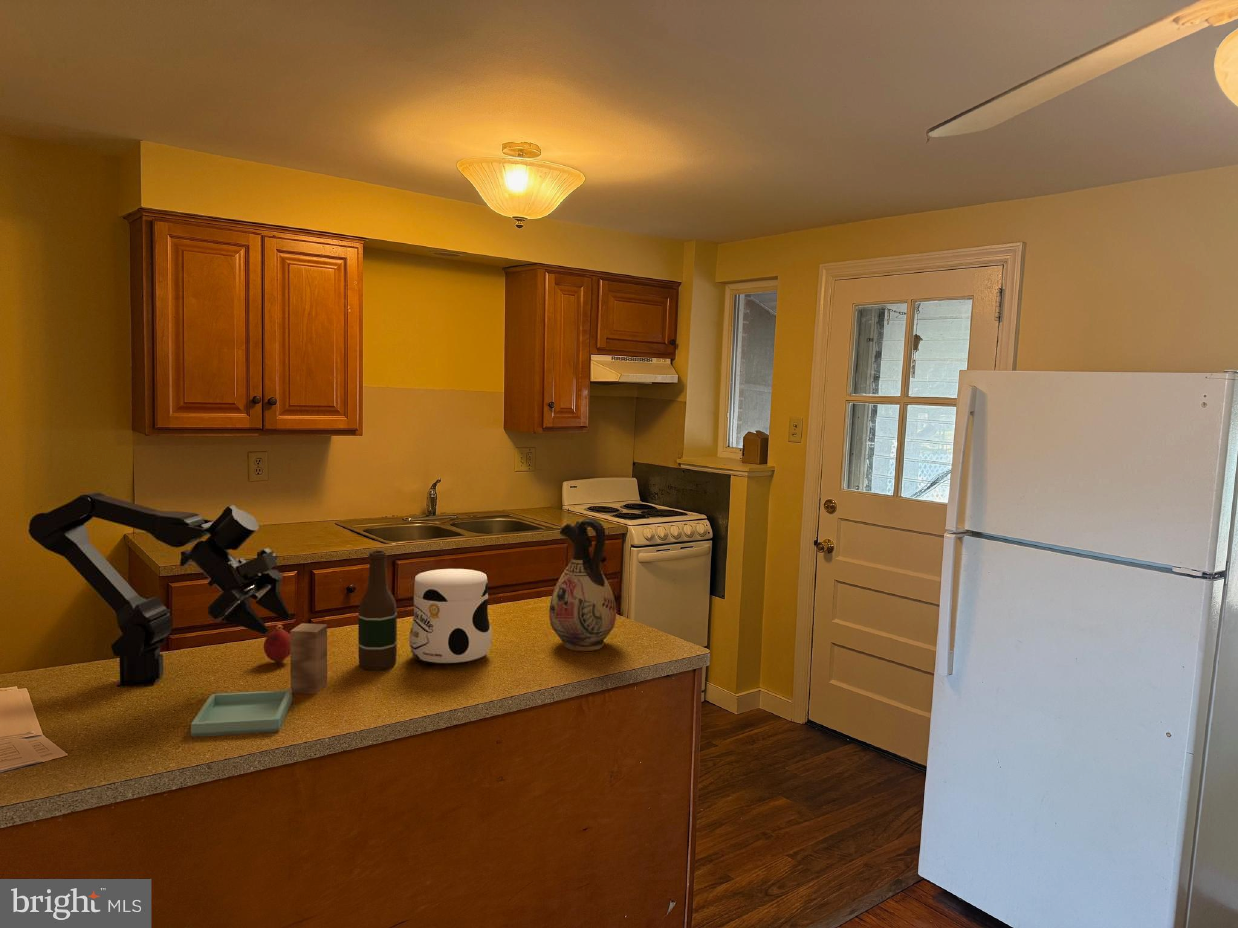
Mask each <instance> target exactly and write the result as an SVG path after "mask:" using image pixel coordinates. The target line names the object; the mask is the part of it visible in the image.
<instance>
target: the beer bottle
mask: <svg viewBox="0 0 1238 928" xmlns="http://www.w3.org/2000/svg"><path fill="white" fill-rule="evenodd" d="M367 557H368V558H369V565H368V583H367V588H366V591H365V593H364V595H363V597H362V598H361V600H360V602H359V605H358V615H357V617H358V623H357V624H358V627H357V628H358V634H357V635H358V639H357V641H358V643H357V644H358V645H357V646H358V666H359V667H360V668H362V669H364V670H366V671H384V670H387V669H390V668H394V666H395V664H396V662H397V658H398V657H397V654H398V651H397V650H398V644H397V643H398V640H397V639H398V633H397V632H398V630H397V629H398V618H397V617H398V613H397V612H398V611H397V610H398V609H397V608H398V607H397V601H396V599H395V597H394V595H393V594H392V592H391V591H390V590H389V586H388V575H387V561H386V558H387V557H388V554H387V551H384V550H372V551H370V552H369V553H368V556H367Z"/></svg>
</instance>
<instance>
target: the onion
mask: <svg viewBox="0 0 1238 928" xmlns="http://www.w3.org/2000/svg"><path fill="white" fill-rule="evenodd" d="M283 628H284V627H283V625H282V624H279V625H277V626H276V628H275V629H274V630H272V631H271V632H270V633H269V634H268V635H267V637H266V638H265V640H264V642H263V651H264V654H265V656H266V657H267V658H268V659H270V660H271V661H272V662H274V663H277V664H281V663H283V662H285V660H286V659H287V658H289V657H290V632H288V631H287V630H285V629H283Z"/></svg>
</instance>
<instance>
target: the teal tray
mask: <svg viewBox="0 0 1238 928" xmlns="http://www.w3.org/2000/svg"><path fill="white" fill-rule="evenodd" d="M292 702H293V693H292V690H291V689H282V690H281V689H280V690H279V689H278V690H265V691H264V690H263V691H245V692H243V691H242V692H227V693H226V692H222V693H211V694H210V696H209V697H208V698H207V700H206V702H204V704H203V706H202V707H201V709H200V710H199V711H198V713H197V715H195V718H194V719H193V721H192V722H191V724H190V737H191V738H198V737H199V738H200V737H203V738H204V737H217V736H219V737H220V736H231V735H249V734H264V733H279V732H280V731H281V728H282V726H283V724H284V722H285V719H286V717H287V714H288V712H289V710H290V706H291V705H292Z"/></svg>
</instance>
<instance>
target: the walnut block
mask: <svg viewBox="0 0 1238 928" xmlns="http://www.w3.org/2000/svg"><path fill="white" fill-rule="evenodd" d="M289 634H290V655H289V658H290V659H289V660H290V665H289V666H290V690H292V694H303V695H305V694H306V695H318V694H319V693H320V692H321V691H322V690H324V689H325V688H326V686H327V685H328V624H323V623H321V624H320V623H300V624H299V625H297V626H295V627H294V628H293V629H291V630H290V631H289Z"/></svg>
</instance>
